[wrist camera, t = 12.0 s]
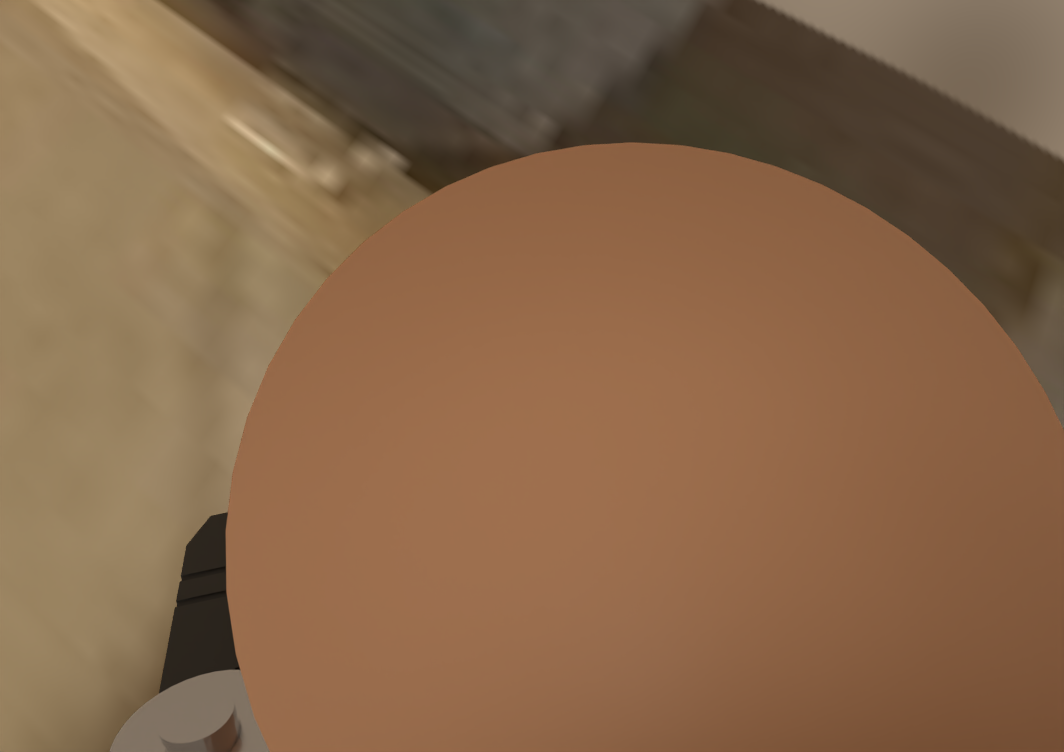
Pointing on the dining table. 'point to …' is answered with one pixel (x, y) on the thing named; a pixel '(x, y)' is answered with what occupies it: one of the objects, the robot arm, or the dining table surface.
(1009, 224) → the dining table surface
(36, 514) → the dining table surface
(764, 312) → the orange rounded cylinder
